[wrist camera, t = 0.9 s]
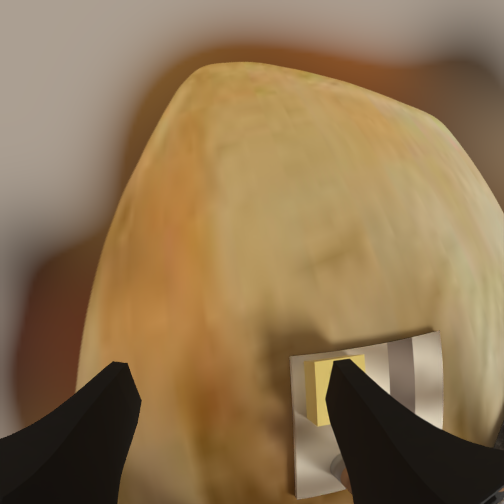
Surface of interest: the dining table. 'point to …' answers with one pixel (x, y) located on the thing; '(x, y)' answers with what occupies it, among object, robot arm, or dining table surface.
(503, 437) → the hammer
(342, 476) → the grey-capped tan cylinder
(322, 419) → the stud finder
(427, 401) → the striped beige square plate
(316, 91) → the dining table surface
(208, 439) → the dining table surface
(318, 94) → the dining table surface
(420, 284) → the dining table surface
